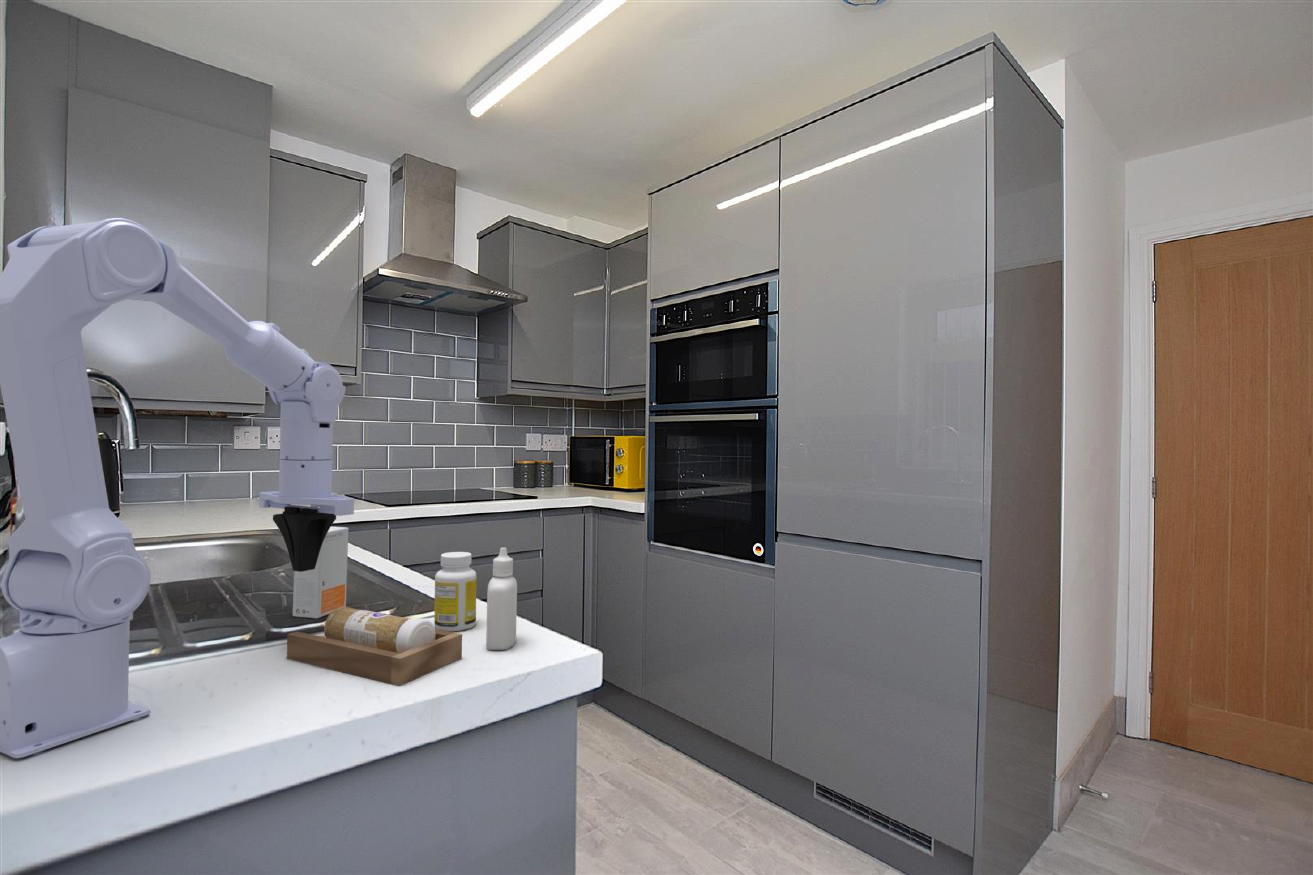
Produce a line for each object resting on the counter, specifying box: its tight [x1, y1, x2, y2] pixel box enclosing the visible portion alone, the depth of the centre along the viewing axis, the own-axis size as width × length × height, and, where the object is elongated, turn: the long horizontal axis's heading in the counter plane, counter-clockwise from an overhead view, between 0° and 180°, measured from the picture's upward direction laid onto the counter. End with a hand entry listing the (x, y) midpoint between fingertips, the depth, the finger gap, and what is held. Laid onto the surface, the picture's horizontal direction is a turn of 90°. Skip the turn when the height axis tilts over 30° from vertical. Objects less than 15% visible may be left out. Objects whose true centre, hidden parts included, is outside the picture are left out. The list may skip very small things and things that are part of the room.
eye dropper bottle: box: [485, 547, 518, 651], centre depth 81 cm, size 4×6×12 cm
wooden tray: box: [286, 628, 463, 686], centre depth 75 cm, size 9×17×3 cm, turn 66°
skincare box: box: [292, 526, 349, 619], centre depth 93 cm, size 6×4×12 cm
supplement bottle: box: [434, 551, 477, 632], centre depth 88 cm, size 5×5×10 cm
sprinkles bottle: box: [323, 606, 436, 653], centre depth 77 cm, size 5×5×14 cm
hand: (304, 569), depth 80 cm, fingers closed
